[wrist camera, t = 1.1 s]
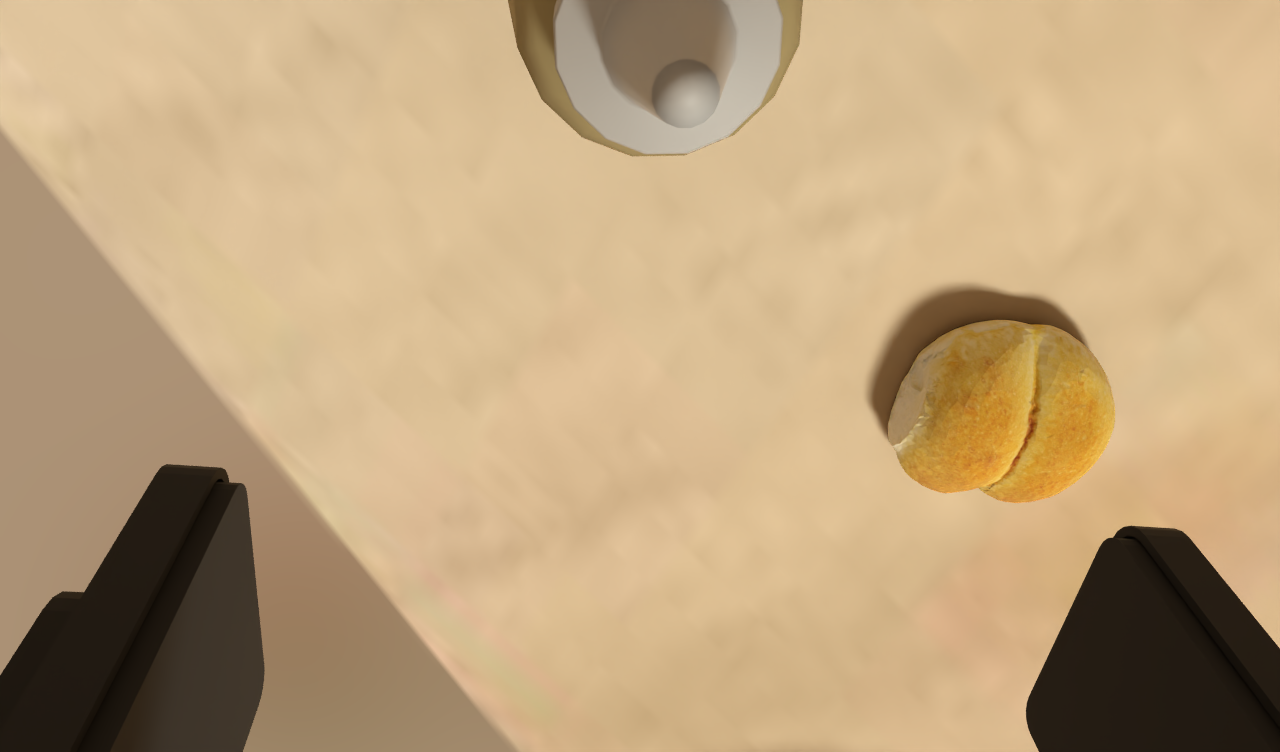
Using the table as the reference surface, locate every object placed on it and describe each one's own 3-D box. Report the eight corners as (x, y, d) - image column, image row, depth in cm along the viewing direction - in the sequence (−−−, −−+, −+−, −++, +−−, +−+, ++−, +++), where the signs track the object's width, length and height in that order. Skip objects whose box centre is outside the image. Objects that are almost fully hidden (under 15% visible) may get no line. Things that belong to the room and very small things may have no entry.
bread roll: (1045, 488, 45) (1084, 546, 41) (863, 456, 43) (888, 514, 40) (1133, 333, 41) (1184, 384, 37) (936, 292, 39) (970, 341, 36)
